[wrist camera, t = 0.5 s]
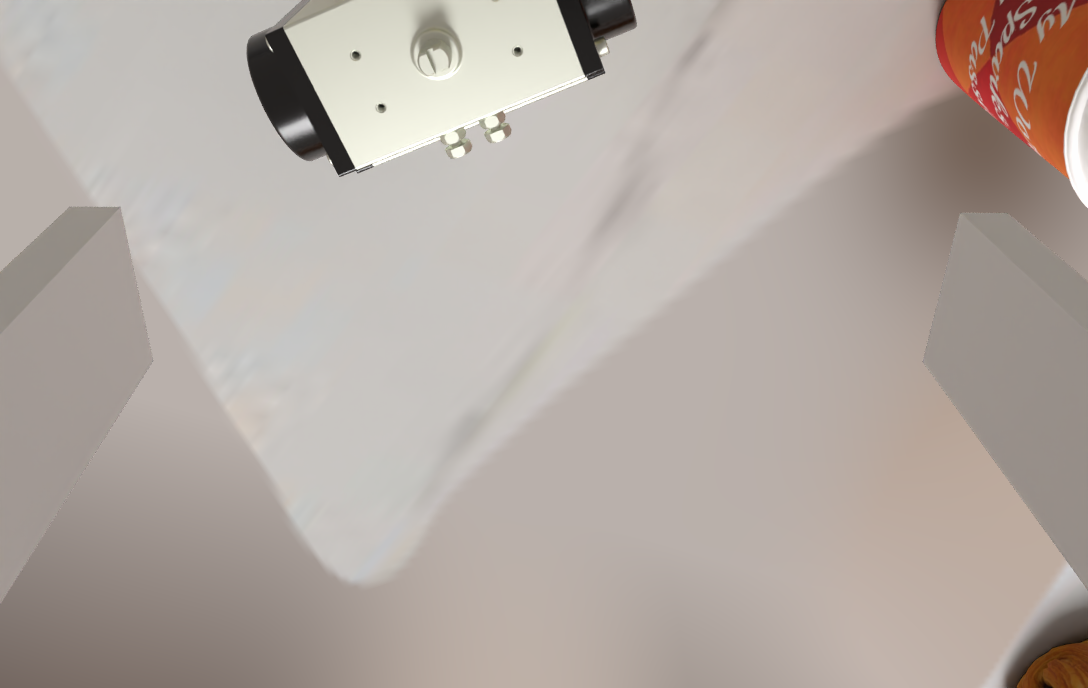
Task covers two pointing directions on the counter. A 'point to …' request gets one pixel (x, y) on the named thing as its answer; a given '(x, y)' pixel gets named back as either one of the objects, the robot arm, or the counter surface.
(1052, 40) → the paper cup
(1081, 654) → the croissant
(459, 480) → the counter surface
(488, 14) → the pneumatic valve
